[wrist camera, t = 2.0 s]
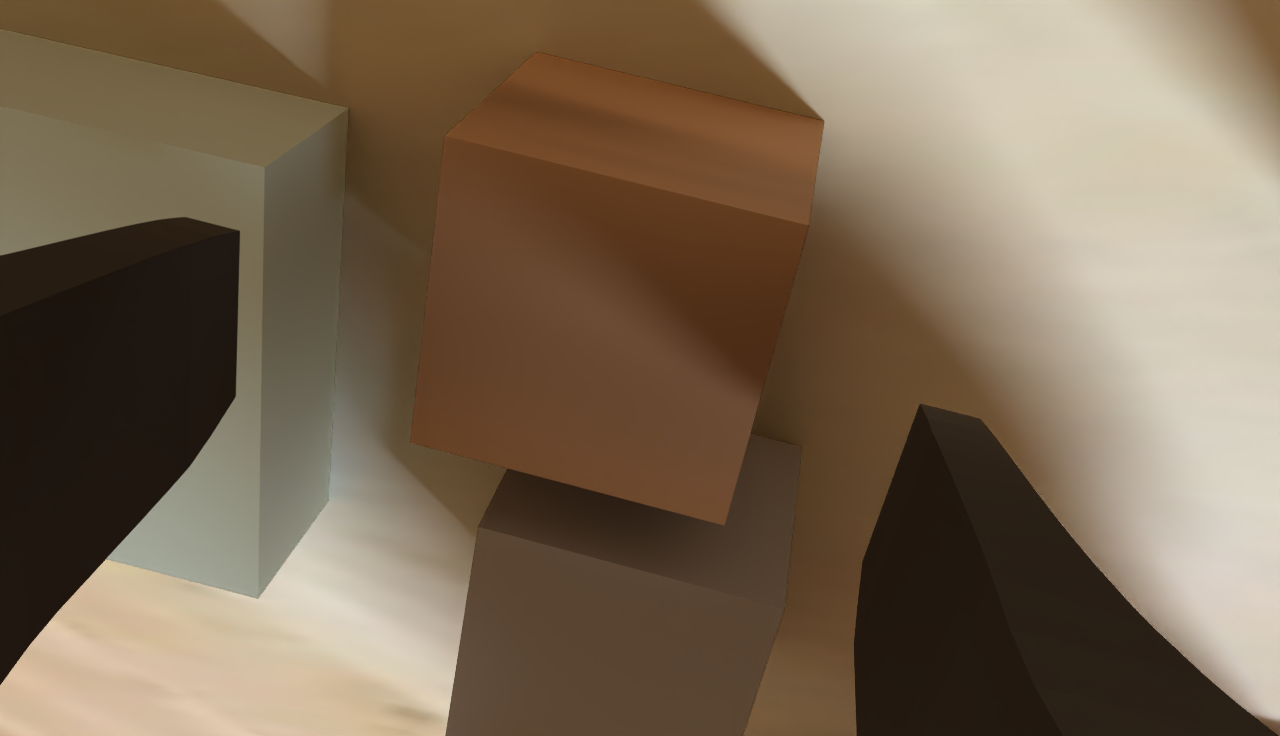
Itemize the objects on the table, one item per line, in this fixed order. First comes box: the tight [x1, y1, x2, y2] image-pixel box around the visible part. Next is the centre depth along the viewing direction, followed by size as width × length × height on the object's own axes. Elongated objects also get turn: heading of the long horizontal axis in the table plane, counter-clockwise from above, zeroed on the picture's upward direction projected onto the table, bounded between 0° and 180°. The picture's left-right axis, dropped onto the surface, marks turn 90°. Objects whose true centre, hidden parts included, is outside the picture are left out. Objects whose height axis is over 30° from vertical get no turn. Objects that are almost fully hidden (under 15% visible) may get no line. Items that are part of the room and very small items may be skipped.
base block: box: [0, 29, 349, 599], centre depth 18 cm, size 7×7×3 cm
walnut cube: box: [410, 52, 824, 526], centre depth 15 cm, size 4×4×4 cm
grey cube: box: [446, 434, 802, 736], centre depth 18 cm, size 4×4×4 cm
